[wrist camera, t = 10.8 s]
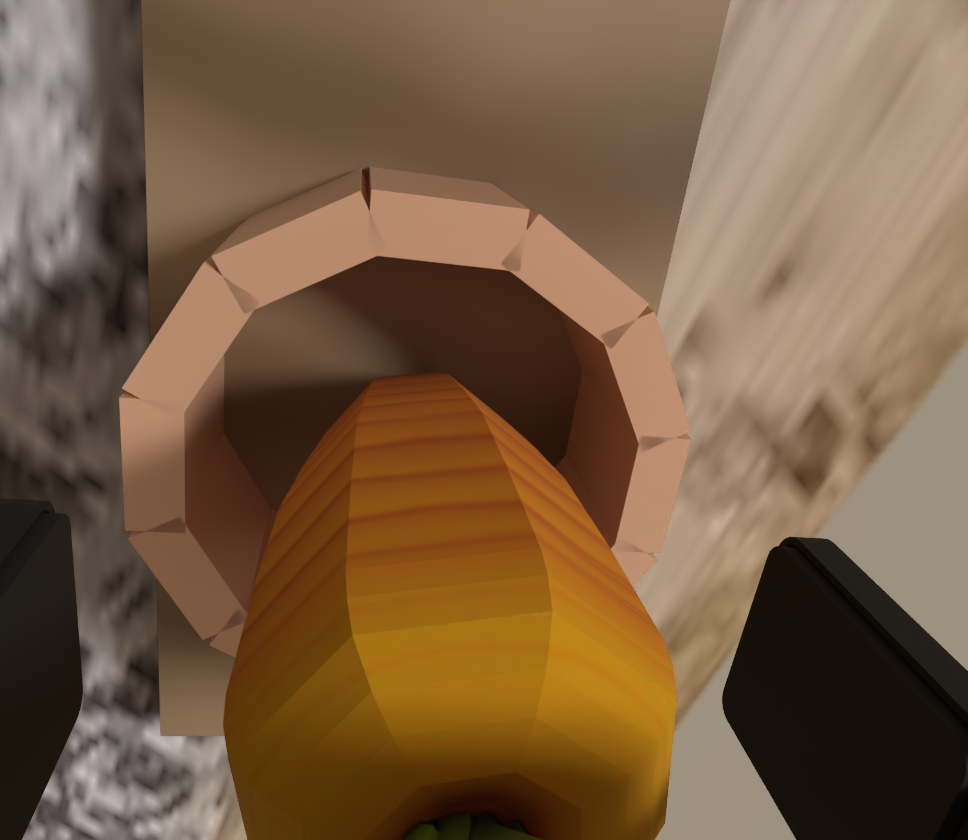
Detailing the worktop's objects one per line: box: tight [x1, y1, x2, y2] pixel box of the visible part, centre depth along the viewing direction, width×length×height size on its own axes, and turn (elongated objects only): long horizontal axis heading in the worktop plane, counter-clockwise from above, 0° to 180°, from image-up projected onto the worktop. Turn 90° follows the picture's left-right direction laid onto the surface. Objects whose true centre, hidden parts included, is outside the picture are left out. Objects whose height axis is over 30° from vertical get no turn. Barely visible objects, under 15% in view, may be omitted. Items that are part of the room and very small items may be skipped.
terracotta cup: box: [119, 167, 691, 657], centre depth 15 cm, size 10×10×4 cm
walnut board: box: [141, 0, 730, 736], centre depth 18 cm, size 20×11×2 cm, turn 172°
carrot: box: [223, 372, 677, 840], centre depth 10 cm, size 5×5×15 cm
